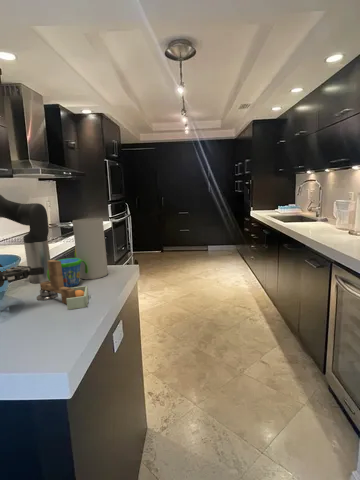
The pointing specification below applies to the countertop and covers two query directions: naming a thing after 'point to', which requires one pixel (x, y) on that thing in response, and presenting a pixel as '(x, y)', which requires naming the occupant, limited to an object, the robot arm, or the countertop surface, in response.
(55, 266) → the lever
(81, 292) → the ball
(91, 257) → the cylinder vase
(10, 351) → the countertop surface
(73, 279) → the snack cup
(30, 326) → the countertop surface
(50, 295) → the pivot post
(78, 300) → the sage green c-shaped clamp
